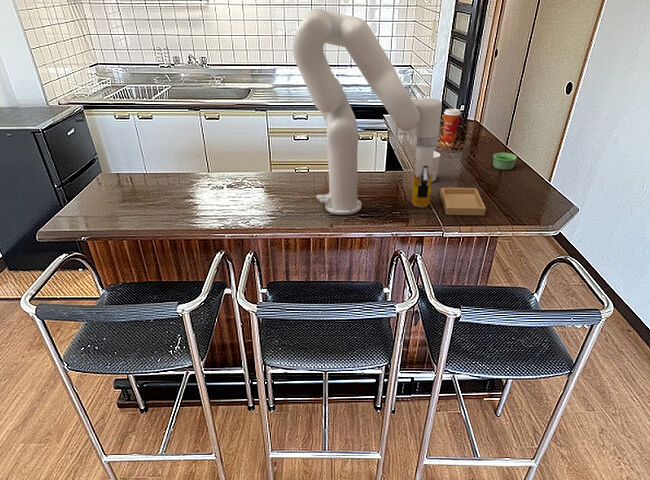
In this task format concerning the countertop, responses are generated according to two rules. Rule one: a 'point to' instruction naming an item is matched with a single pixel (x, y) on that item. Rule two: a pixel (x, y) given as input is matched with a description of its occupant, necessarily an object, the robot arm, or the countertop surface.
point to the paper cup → (451, 124)
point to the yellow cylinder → (417, 200)
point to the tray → (462, 201)
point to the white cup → (435, 165)
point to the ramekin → (504, 161)
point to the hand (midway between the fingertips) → (421, 192)
